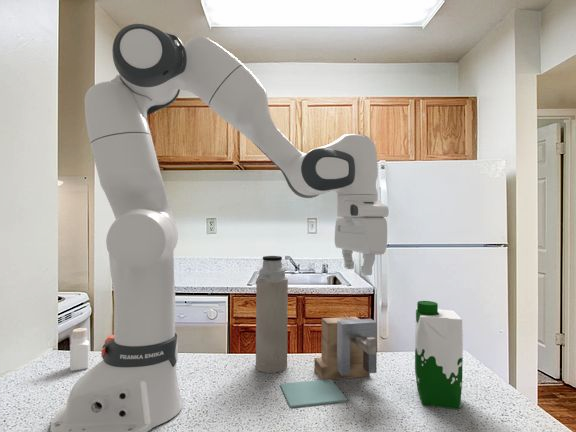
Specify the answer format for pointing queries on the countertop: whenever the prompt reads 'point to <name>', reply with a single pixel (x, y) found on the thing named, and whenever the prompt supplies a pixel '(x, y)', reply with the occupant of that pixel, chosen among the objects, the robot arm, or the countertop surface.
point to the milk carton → (438, 355)
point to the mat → (312, 393)
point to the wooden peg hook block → (328, 361)
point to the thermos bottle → (271, 316)
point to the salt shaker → (79, 350)
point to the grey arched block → (344, 333)
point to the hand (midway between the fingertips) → (357, 271)
